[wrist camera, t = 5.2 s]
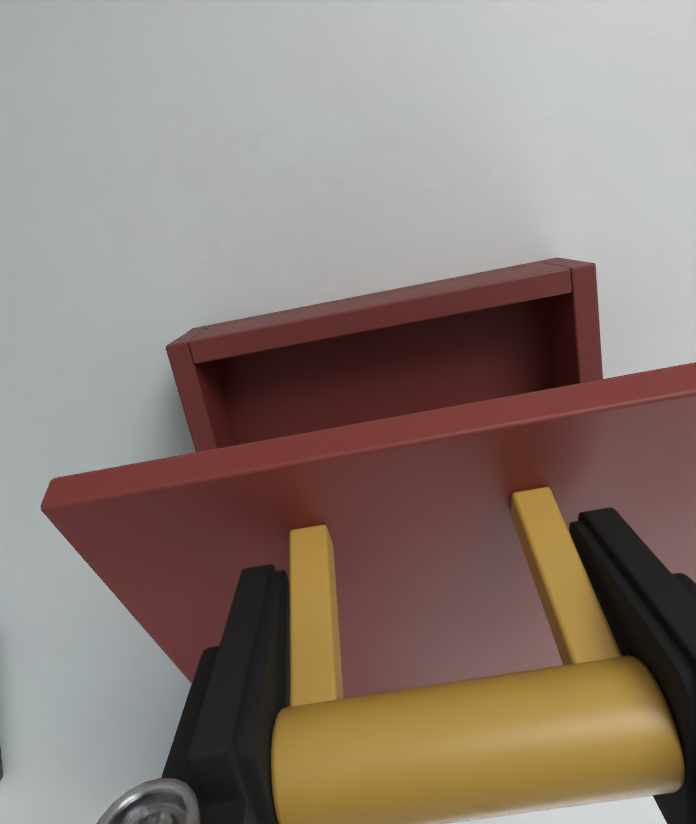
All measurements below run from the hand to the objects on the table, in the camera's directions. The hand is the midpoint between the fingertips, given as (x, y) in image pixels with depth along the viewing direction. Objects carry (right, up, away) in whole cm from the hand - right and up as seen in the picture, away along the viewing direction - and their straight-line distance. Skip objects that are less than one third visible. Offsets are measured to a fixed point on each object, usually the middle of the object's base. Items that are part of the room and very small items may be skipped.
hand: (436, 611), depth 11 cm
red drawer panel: (+1, -3, +5) cm, 6 cm away
